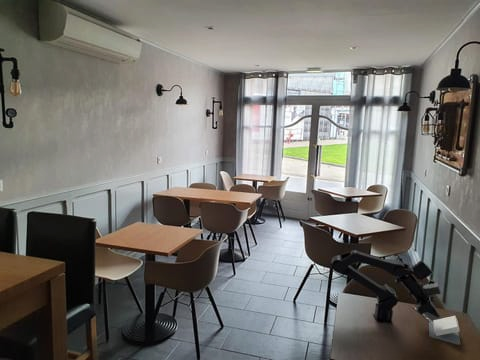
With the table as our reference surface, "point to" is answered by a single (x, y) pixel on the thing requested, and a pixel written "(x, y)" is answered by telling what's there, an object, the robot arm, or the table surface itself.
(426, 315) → the smartphone
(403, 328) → the table surface
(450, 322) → the tile
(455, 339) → the mat
